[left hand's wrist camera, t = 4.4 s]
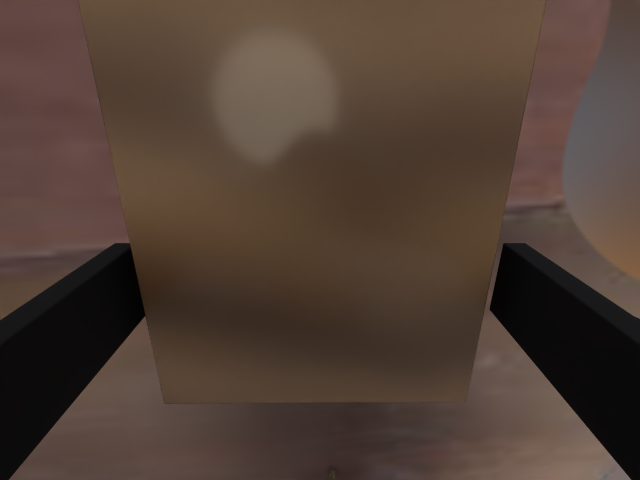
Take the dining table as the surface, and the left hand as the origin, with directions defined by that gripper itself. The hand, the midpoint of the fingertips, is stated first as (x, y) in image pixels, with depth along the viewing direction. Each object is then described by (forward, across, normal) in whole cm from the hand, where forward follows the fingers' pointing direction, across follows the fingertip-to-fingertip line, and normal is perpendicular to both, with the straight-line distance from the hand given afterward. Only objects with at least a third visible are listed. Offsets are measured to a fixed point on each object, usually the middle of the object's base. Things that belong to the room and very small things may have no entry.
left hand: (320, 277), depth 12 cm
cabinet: (+8, 0, -5) cm, 10 cm away
